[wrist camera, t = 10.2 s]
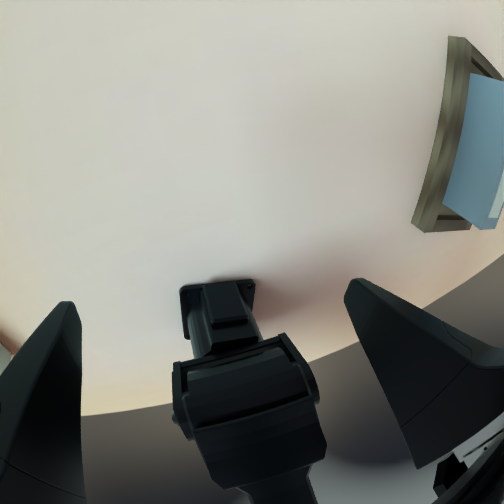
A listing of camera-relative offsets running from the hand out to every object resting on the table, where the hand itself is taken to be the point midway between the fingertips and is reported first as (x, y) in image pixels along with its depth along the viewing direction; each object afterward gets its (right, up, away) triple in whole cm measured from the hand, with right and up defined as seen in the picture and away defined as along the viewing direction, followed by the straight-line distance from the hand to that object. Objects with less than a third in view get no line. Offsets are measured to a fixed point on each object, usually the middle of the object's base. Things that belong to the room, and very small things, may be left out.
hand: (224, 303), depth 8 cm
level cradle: (+25, +14, +15) cm, 32 cm away
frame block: (+25, +14, +14) cm, 32 cm away
